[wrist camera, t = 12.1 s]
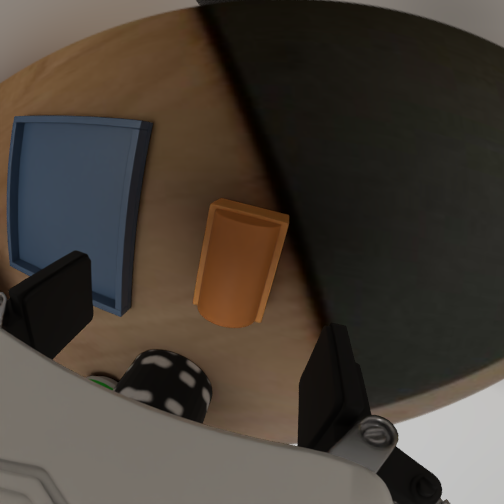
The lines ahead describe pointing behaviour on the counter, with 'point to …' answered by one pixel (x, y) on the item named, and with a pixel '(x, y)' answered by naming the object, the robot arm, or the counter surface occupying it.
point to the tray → (77, 197)
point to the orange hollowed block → (238, 262)
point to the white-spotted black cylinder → (167, 384)
